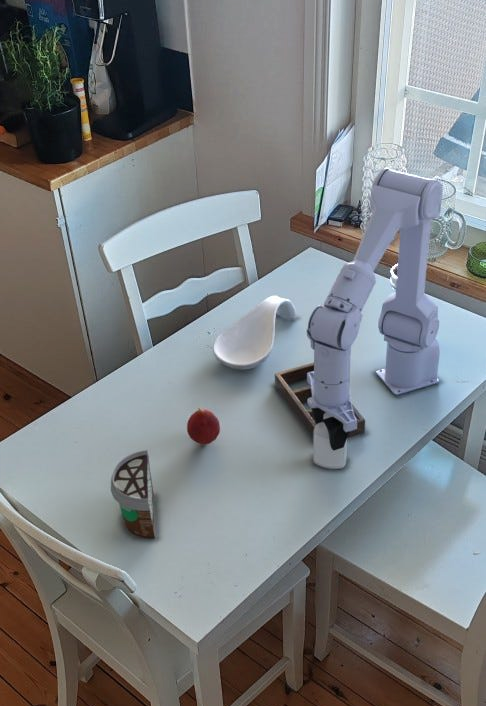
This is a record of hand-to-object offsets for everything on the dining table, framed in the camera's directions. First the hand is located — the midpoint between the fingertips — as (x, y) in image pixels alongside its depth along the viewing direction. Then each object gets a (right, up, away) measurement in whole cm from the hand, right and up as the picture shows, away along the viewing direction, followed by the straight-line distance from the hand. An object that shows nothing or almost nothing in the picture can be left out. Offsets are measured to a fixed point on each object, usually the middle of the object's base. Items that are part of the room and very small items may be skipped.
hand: (330, 438), depth 156 cm
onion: (-22, -1, +9) cm, 24 cm away
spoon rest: (-12, +19, +31) cm, 38 cm away
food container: (-32, -14, -4) cm, 35 cm away
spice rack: (-1, +6, +15) cm, 16 cm away
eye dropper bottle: (0, -4, +4) cm, 6 cm away
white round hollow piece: (+18, +24, +34) cm, 46 cm away
